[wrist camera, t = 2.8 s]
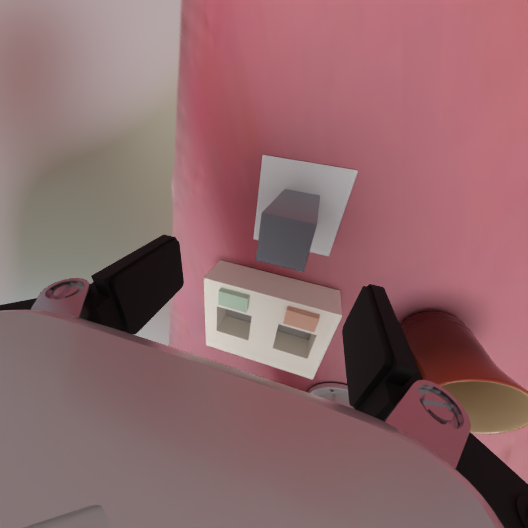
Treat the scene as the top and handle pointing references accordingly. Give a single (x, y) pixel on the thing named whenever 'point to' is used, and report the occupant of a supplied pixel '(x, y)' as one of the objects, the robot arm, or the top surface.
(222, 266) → the socket block
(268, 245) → the dark grey rectangular prism
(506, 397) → the mug
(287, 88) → the top surface
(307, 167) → the mat
